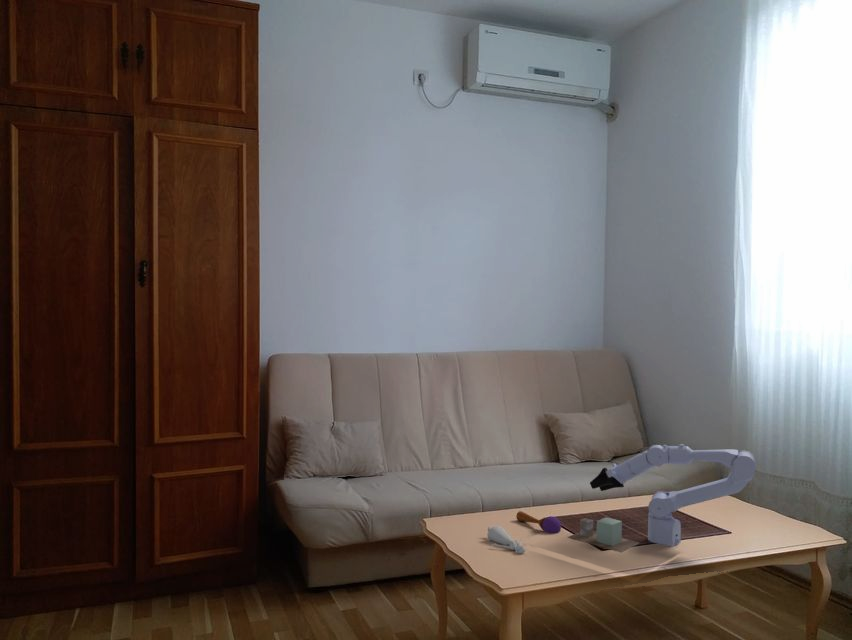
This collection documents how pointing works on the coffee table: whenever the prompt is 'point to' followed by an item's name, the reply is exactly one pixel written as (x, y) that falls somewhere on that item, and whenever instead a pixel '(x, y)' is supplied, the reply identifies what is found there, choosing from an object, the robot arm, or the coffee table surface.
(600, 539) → the frosted mint cube
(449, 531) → the coffee table surface
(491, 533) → the woman figurine
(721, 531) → the coffee table surface
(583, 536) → the board
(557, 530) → the purple and brown maraca
